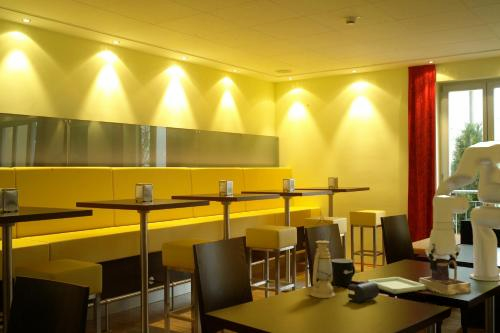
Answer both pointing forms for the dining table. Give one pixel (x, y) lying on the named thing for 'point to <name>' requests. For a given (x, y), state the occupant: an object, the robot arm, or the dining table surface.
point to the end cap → (363, 292)
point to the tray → (398, 285)
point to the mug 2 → (443, 272)
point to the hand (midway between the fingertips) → (443, 269)
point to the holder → (446, 286)
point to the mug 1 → (342, 271)
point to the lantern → (322, 270)
